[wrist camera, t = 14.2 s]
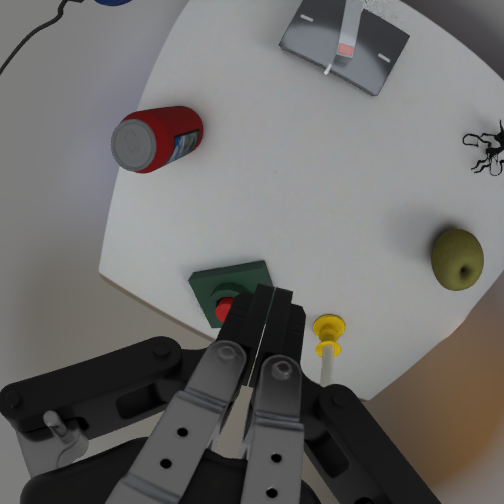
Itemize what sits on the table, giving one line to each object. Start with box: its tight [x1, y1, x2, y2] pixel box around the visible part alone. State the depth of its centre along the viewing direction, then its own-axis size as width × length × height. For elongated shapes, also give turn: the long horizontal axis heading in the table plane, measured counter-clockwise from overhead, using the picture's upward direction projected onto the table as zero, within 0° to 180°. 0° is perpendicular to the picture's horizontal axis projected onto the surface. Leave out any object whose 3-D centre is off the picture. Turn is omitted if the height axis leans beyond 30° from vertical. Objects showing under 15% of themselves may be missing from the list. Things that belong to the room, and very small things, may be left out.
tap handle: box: [334, 0, 363, 64], centre depth 22 cm, size 6×2×5 cm, turn 170°
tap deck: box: [279, 0, 410, 96], centre depth 26 cm, size 12×11×3 cm
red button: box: [215, 297, 234, 323], centre depth 44 cm, size 4×4×2 cm
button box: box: [188, 261, 275, 328], centre depth 46 cm, size 12×10×4 cm
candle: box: [313, 315, 345, 387], centre depth 40 cm, size 5×5×16 cm
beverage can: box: [111, 106, 203, 173], centre depth 31 cm, size 7×7×12 cm
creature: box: [463, 119, 504, 176], centre depth 26 cm, size 8×5×8 cm
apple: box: [431, 229, 484, 291], centre depth 33 cm, size 8×8×7 cm
